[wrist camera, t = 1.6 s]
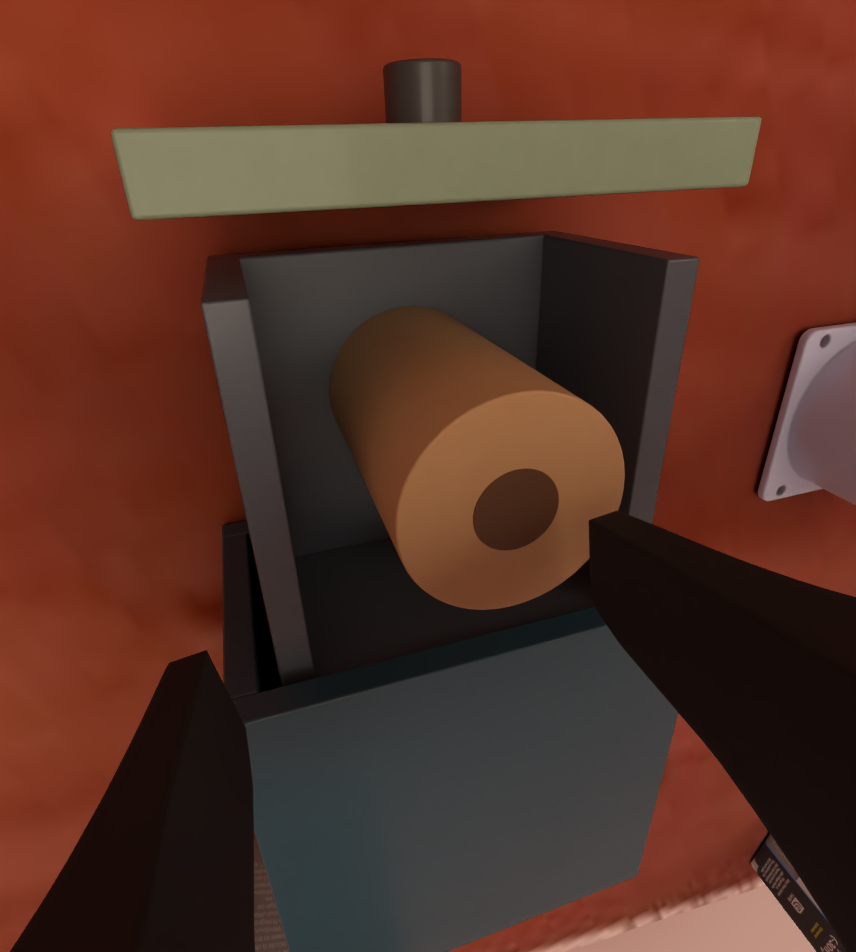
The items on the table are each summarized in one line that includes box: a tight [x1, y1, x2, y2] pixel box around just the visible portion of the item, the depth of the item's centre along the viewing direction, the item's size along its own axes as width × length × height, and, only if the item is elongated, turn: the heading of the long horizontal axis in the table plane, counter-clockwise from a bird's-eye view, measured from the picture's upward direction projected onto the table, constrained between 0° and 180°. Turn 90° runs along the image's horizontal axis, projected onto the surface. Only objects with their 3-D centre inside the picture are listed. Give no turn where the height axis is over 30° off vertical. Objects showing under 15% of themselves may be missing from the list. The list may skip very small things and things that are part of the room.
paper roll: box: [329, 306, 625, 610], centre depth 14 cm, size 5×5×8 cm
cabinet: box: [222, 521, 678, 952], centre depth 21 cm, size 14×13×9 cm
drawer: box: [111, 58, 761, 687], centre depth 15 cm, size 14×11×7 cm
